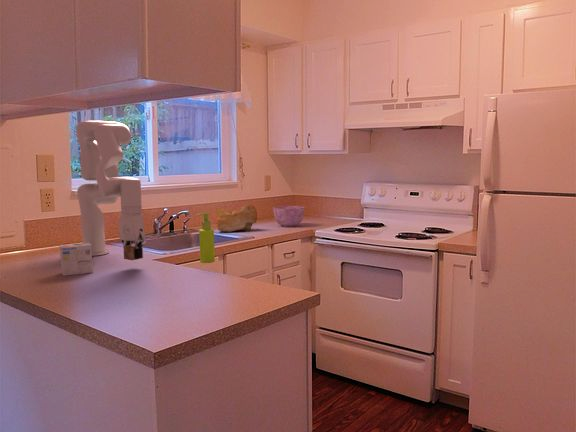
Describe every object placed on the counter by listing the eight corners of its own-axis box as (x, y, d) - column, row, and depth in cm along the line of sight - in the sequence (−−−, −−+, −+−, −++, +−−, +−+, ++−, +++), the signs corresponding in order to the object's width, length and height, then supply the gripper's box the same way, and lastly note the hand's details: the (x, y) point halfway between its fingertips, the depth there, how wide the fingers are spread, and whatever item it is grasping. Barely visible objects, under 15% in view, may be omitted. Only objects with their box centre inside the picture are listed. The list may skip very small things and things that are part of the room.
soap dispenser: (196, 261, 212) (195, 212, 210) (213, 259, 215) (212, 211, 212) (198, 263, 207) (197, 214, 205) (215, 262, 209) (214, 213, 207)
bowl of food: (266, 226, 316) (265, 208, 315) (285, 223, 333) (285, 205, 331) (293, 229, 305) (292, 209, 304) (311, 225, 321) (311, 206, 320)
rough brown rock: (254, 229, 312) (253, 204, 312) (258, 230, 296) (257, 204, 296) (216, 232, 308) (214, 207, 307) (218, 233, 292) (216, 207, 291)
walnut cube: (124, 258, 199) (123, 246, 198) (134, 256, 203) (133, 244, 202) (132, 260, 196) (132, 247, 195) (143, 258, 200) (142, 245, 199)
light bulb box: (90, 269, 199) (89, 241, 198) (93, 272, 193) (92, 244, 192) (60, 273, 194) (58, 244, 193) (62, 276, 188) (60, 247, 187)
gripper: (109, 210, 199) (111, 256, 201) (138, 213, 189) (140, 261, 192) (125, 208, 205) (127, 253, 207) (154, 211, 195) (156, 258, 198)
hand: (133, 257), depth 199 cm, fingers closed on walnut cube, 5 cm apart
